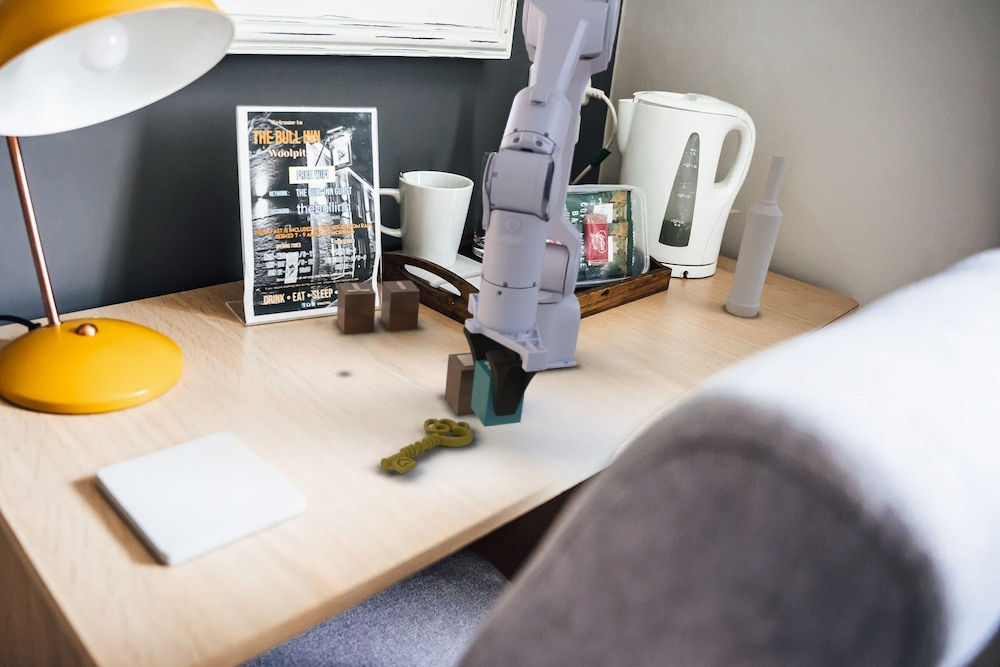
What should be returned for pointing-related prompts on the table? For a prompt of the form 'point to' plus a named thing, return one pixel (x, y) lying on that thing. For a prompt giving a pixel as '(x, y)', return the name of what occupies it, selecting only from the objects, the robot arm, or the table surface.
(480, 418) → the teal rectangular block
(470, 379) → the brown tall block
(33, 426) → the table surface
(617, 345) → the table surface
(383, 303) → the tile
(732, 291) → the bottle
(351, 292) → the tile
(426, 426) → the key
